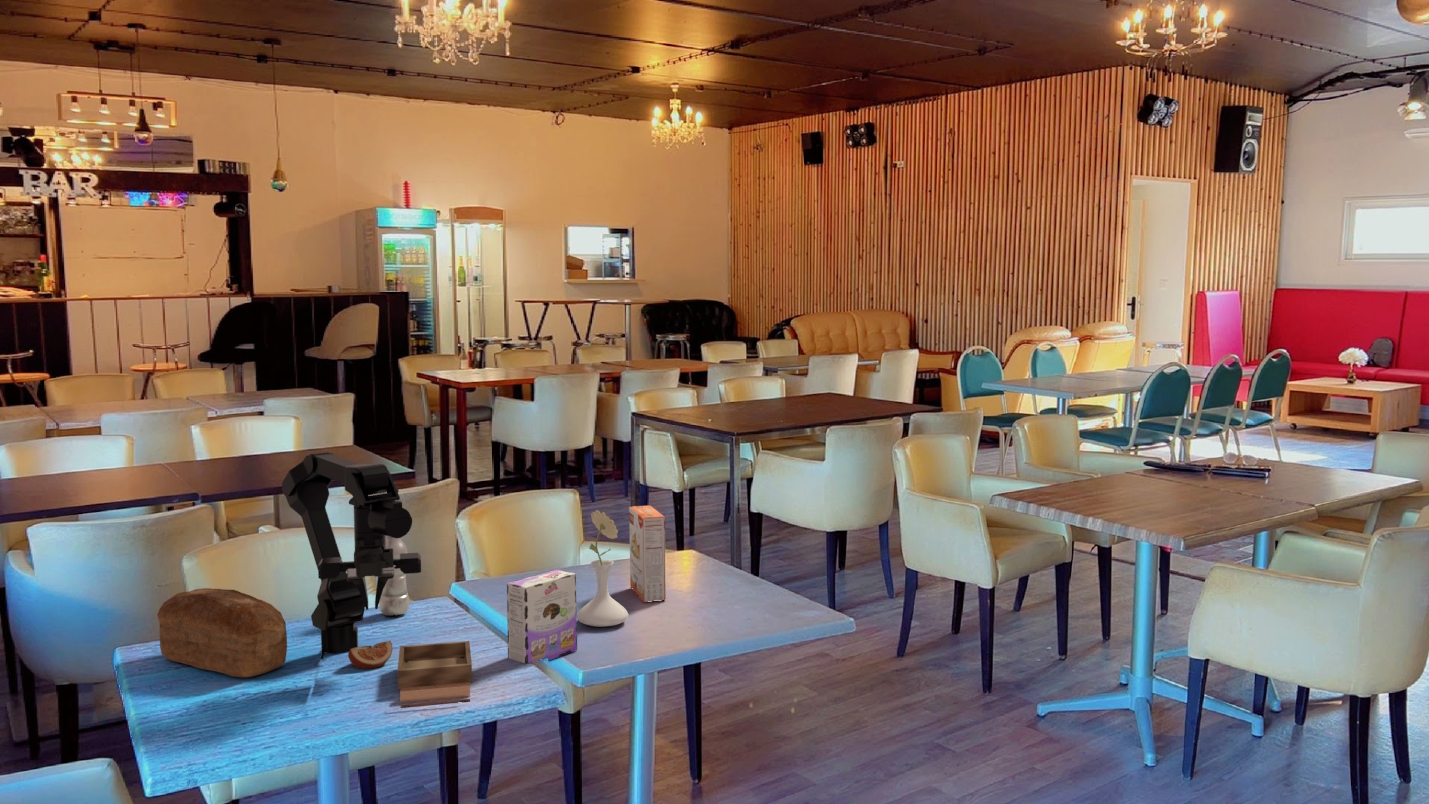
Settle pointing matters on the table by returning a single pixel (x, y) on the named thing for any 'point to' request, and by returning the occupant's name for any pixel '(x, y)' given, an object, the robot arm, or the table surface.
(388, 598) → the plastic bottle
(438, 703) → the rail track
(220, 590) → the bread
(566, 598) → the candy box
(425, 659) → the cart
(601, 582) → the flower in vase
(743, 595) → the table surface
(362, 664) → the fruit slice
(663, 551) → the cracker box
